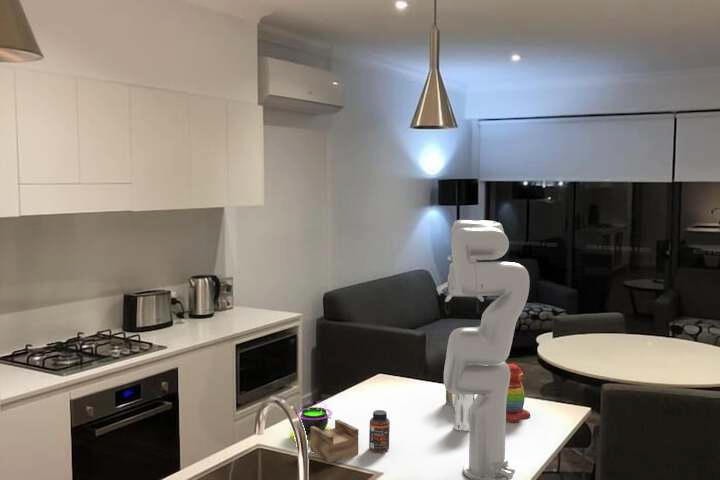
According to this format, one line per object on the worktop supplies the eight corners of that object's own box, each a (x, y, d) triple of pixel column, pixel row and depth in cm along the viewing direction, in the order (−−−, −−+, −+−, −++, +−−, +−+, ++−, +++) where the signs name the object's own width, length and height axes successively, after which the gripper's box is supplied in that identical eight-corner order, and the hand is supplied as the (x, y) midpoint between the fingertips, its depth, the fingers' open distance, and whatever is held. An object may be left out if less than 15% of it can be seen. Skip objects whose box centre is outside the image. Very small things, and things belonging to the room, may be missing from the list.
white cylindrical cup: (473, 433, 208) (474, 386, 207) (451, 431, 210) (451, 385, 208) (474, 425, 215) (475, 379, 214) (452, 423, 216) (453, 378, 215)
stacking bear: (513, 424, 216) (515, 370, 215) (488, 415, 224) (489, 364, 222) (532, 416, 223) (534, 364, 222) (507, 408, 231) (509, 358, 229)
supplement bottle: (372, 454, 192) (372, 416, 191) (366, 446, 197) (366, 409, 196) (392, 452, 193) (392, 414, 192) (385, 444, 199) (386, 407, 198)
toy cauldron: (347, 433, 208) (347, 399, 207) (318, 448, 196) (318, 412, 195) (310, 423, 217) (310, 390, 216) (280, 437, 204) (279, 402, 203)
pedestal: (358, 454, 192) (358, 429, 191) (329, 462, 186) (329, 437, 185) (338, 443, 200) (338, 419, 199) (310, 451, 194) (310, 426, 193)
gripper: (439, 261, 203) (438, 316, 205) (494, 260, 204) (493, 315, 205) (434, 258, 210) (434, 311, 212) (488, 258, 211) (487, 311, 213)
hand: (463, 313), depth 209 cm, fingers open, 9 cm apart
